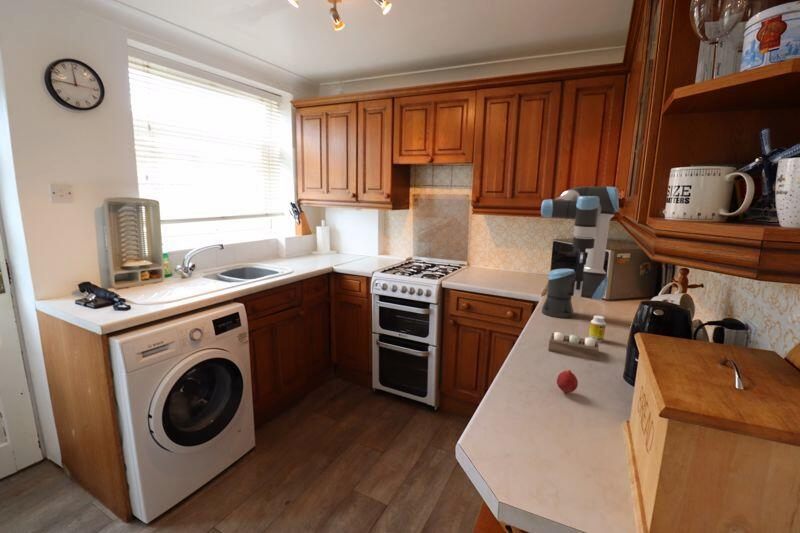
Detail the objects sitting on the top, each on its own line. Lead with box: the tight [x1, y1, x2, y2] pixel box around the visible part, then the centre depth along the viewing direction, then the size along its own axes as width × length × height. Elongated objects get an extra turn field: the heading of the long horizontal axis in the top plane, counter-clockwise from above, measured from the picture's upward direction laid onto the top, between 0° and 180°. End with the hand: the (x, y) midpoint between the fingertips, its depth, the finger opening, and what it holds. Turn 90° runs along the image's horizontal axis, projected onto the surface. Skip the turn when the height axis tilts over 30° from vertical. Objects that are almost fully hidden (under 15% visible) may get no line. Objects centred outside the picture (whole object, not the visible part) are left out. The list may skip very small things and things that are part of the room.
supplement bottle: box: [588, 315, 607, 343], centre depth 159 cm, size 6×6×10 cm
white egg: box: [584, 336, 596, 347], centre depth 145 cm, size 4×4×5 cm
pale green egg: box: [568, 334, 581, 344], centre depth 147 cm, size 4×4×5 cm
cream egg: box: [554, 331, 565, 341], centre depth 149 cm, size 4×4×5 cm
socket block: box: [547, 332, 600, 361], centre depth 147 cm, size 10×17×4 cm, turn 63°
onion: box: [556, 368, 579, 395], centre depth 115 cm, size 6×6×8 cm
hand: (577, 296), depth 149 cm, fingers closed
